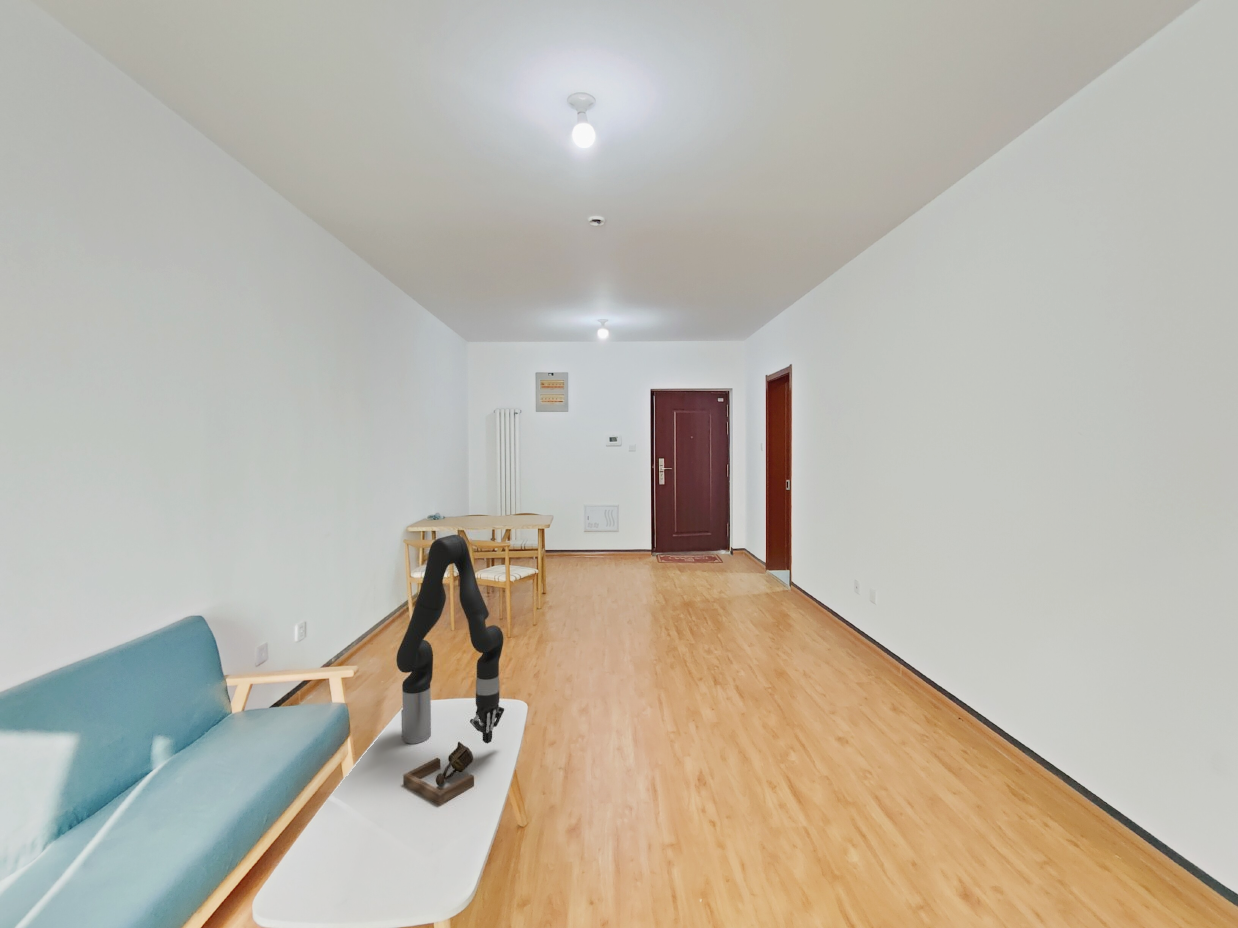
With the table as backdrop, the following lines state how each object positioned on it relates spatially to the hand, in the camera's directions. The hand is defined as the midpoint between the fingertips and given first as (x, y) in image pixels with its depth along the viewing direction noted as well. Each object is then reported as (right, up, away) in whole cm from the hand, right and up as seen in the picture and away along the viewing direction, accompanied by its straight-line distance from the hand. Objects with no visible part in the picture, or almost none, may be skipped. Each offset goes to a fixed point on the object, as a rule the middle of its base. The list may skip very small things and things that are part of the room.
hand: (487, 741), depth 189 cm
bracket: (-11, -5, -16) cm, 20 cm away
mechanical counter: (-8, -6, -12) cm, 16 cm away
